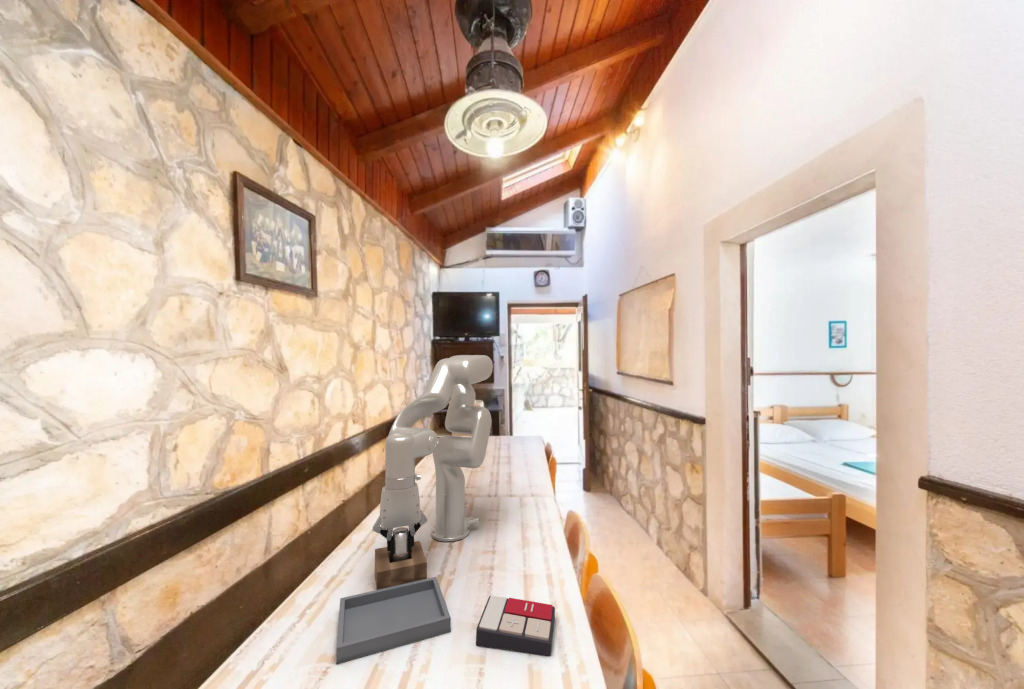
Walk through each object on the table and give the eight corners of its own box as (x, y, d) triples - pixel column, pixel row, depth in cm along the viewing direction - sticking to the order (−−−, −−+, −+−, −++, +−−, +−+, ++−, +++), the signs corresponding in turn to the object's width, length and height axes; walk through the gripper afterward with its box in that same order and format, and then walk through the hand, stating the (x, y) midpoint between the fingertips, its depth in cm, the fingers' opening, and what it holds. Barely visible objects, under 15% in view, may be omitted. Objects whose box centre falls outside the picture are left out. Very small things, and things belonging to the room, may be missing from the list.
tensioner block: (419, 562, 107) (419, 540, 108) (426, 586, 96) (426, 562, 96) (374, 571, 103) (374, 549, 103) (376, 597, 92) (376, 572, 92)
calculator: (551, 639, 74) (476, 625, 77) (550, 662, 74) (475, 647, 77) (555, 602, 85) (489, 591, 87) (554, 622, 85) (488, 610, 87)
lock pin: (407, 570, 103) (407, 526, 103) (409, 579, 99) (409, 532, 99) (392, 574, 101) (392, 528, 101) (393, 582, 97) (393, 535, 98)
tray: (436, 588, 95) (436, 576, 95) (450, 631, 80) (450, 617, 80) (340, 611, 87) (340, 598, 87) (336, 664, 72) (336, 648, 72)
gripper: (429, 473, 107) (430, 538, 107) (366, 481, 101) (366, 550, 100) (434, 481, 100) (435, 551, 100) (366, 491, 94) (367, 565, 93)
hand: (400, 550), depth 100 cm, fingers closed on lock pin, 4 cm apart
